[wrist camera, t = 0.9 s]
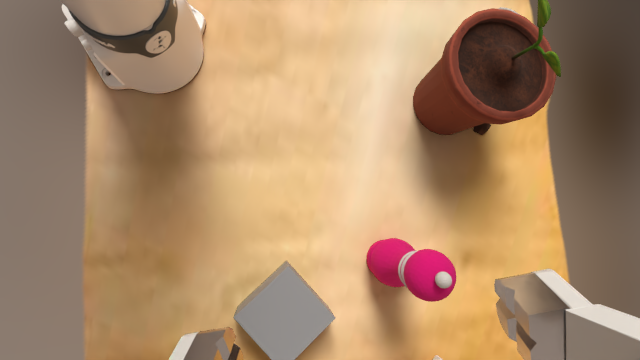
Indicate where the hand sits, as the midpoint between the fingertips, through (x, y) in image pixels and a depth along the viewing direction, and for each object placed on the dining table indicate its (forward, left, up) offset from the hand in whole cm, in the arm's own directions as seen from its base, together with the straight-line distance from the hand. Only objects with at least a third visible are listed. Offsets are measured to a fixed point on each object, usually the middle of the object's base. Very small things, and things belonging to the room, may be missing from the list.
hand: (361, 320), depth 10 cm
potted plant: (+1, +40, -44) cm, 59 cm away
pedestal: (+8, -8, -44) cm, 45 cm away
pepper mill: (+14, +9, -44) cm, 47 cm away
